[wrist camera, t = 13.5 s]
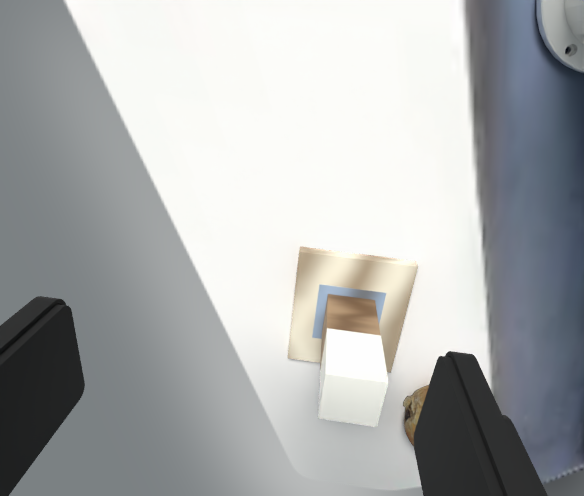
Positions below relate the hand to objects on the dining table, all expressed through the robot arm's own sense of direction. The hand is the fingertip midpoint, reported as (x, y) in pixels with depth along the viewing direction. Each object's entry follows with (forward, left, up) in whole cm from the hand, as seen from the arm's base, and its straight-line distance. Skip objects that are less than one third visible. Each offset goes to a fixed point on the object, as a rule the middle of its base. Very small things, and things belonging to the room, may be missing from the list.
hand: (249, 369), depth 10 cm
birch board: (-6, +18, -30) cm, 36 cm away
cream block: (-6, +18, -23) cm, 30 cm away
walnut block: (-6, +18, -29) cm, 35 cm away
